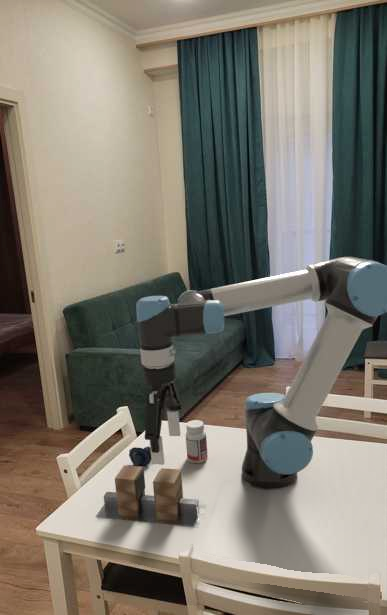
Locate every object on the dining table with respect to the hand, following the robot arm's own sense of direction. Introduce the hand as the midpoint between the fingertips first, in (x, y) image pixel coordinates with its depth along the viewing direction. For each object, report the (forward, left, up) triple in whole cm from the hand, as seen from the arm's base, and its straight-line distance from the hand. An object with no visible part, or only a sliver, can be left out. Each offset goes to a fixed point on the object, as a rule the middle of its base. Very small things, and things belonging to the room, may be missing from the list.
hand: (167, 448), depth 115 cm
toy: (+16, -25, -18) cm, 35 cm away
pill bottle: (0, -28, -18) cm, 33 cm away
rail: (+5, 0, -18) cm, 19 cm away
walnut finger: (0, 0, -17) cm, 17 cm away
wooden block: (+10, 0, -17) cm, 20 cm away
